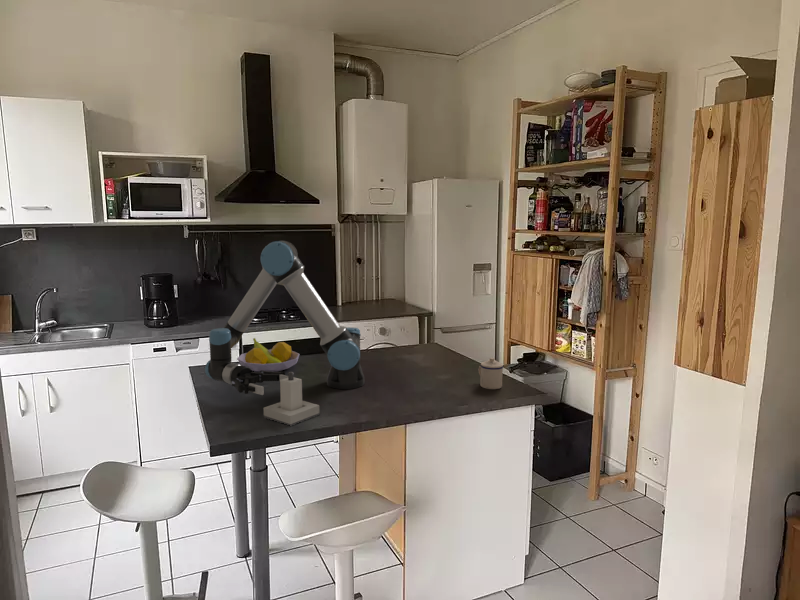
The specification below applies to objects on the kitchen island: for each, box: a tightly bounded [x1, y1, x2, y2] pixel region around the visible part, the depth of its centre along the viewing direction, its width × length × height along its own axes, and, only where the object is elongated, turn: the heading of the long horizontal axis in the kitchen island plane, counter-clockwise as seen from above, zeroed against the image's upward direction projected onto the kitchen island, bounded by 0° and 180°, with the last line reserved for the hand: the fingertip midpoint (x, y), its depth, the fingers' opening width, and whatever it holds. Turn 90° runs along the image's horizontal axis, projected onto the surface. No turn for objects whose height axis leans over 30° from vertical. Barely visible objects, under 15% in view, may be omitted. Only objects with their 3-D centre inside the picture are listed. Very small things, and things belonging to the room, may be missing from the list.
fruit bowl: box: [236, 337, 301, 373], centre depth 242 cm, size 28×27×11 cm
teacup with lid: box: [477, 357, 504, 390], centre depth 220 cm, size 12×9×12 cm
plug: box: [279, 371, 303, 411], centre depth 183 cm, size 5×5×14 cm
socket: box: [263, 400, 320, 427], centre depth 185 cm, size 17×13×4 cm
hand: (278, 386), depth 186 cm, fingers open, 13 cm apart
